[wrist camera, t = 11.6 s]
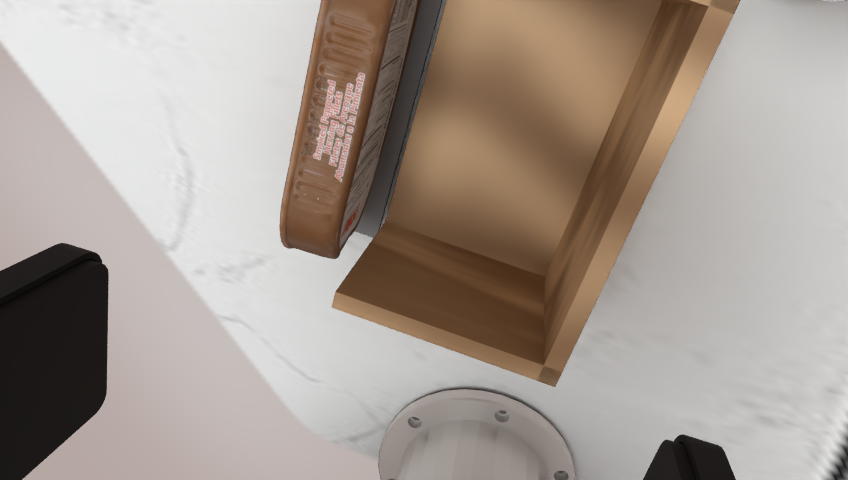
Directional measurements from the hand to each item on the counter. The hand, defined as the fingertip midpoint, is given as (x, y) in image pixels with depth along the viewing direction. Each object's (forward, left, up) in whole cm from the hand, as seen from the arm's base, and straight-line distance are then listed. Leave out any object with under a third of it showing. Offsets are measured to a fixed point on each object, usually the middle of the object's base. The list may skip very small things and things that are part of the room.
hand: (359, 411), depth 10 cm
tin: (0, +6, -23) cm, 23 cm away
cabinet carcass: (+1, -1, -23) cm, 23 cm away
